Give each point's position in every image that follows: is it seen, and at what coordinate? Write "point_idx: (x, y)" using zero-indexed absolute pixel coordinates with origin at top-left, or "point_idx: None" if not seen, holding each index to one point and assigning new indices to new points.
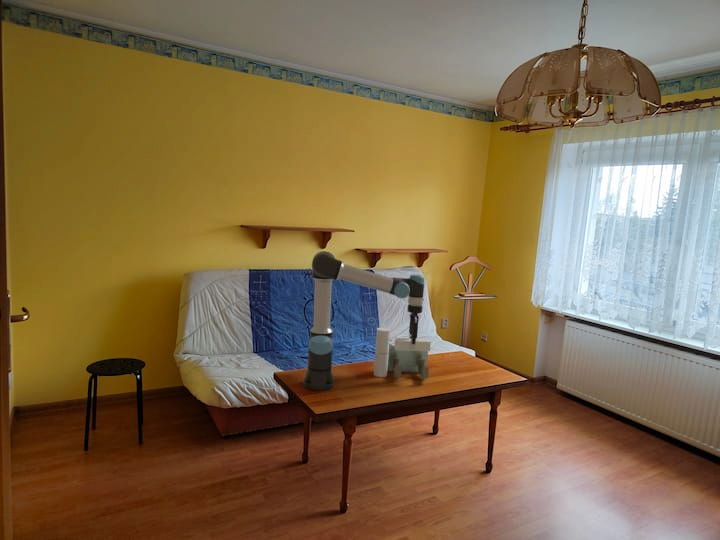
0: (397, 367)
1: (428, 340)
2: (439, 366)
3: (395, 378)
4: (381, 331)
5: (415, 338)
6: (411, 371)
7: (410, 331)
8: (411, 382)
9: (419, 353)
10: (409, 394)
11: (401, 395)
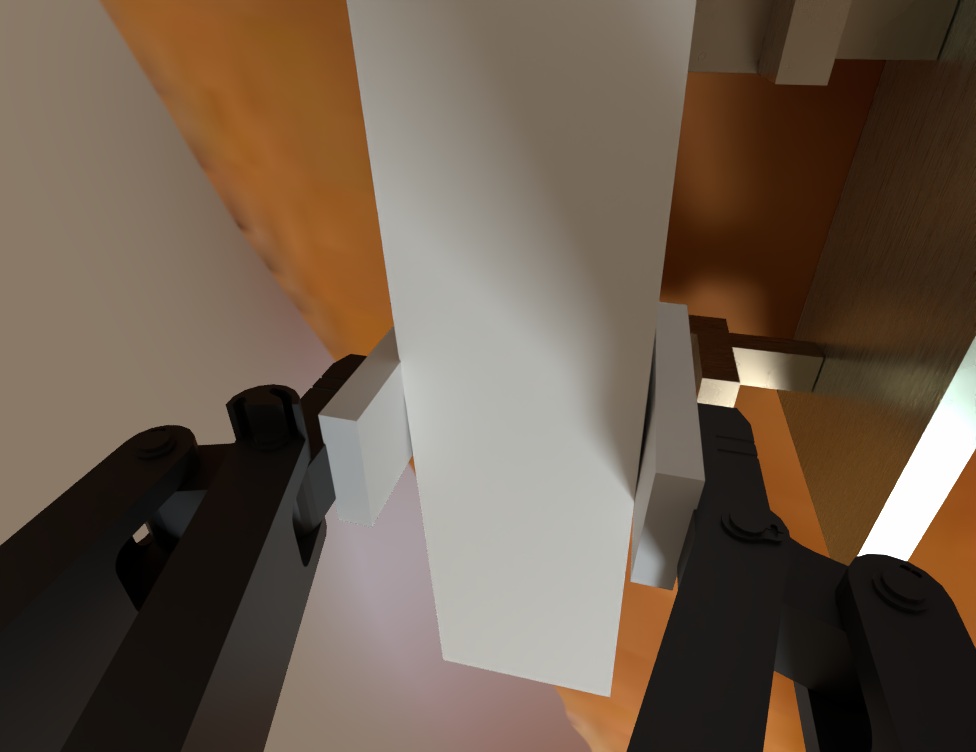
0: None
1: (525, 666)
2: (942, 544)
3: None
4: None
5: (340, 495)
6: (823, 255)
7: (683, 580)
8: None
9: (859, 442)
10: (230, 106)
11: (183, 21)
